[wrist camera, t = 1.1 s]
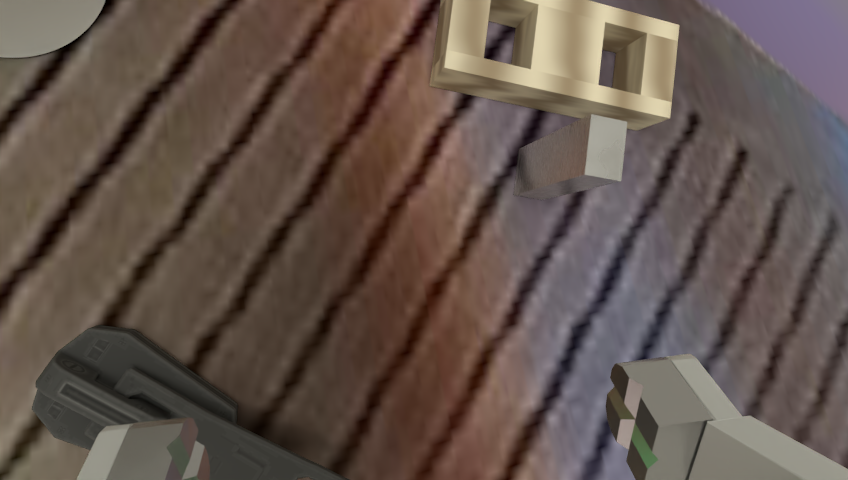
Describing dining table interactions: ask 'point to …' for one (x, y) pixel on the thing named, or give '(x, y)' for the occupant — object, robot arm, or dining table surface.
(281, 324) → the dining table surface
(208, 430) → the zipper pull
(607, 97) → the hollow cinder block
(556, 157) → the grey square pillar
